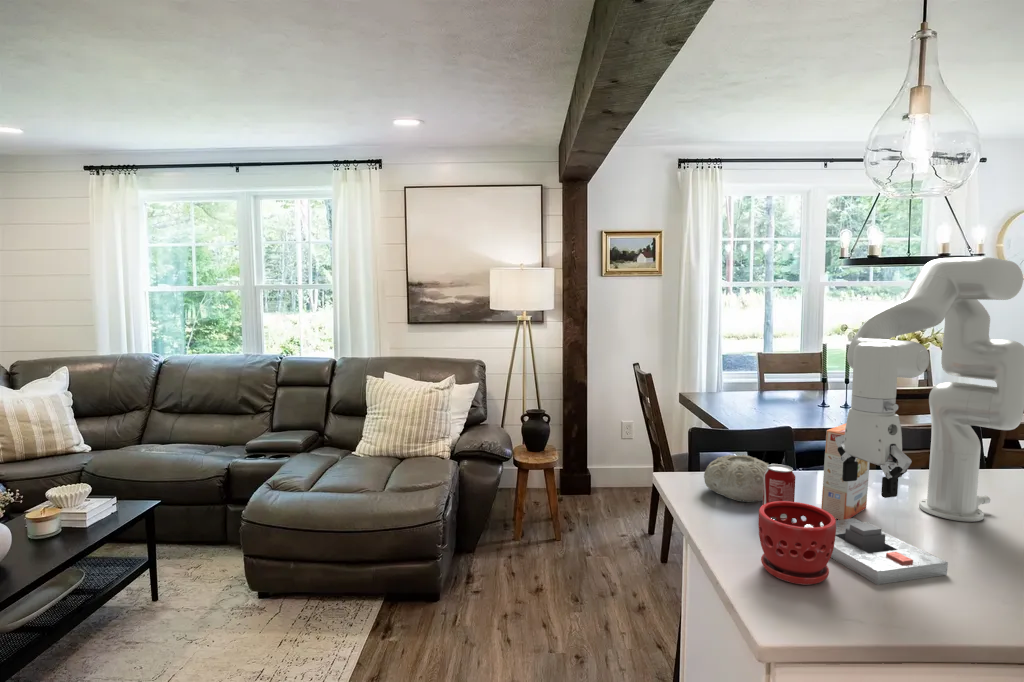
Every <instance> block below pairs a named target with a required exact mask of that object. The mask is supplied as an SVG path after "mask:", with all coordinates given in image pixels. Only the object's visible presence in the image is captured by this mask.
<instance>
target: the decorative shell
mask: <svg viewBox="0 0 1024 682" xmlns="http://www.w3.org/2000/svg"><path fill="white" fill-rule="evenodd" d="M768 465H769V462H765V461H763V460H761V459H758V458H757V457H753V456H750V455H745V454H742V455H738V454H737V455H733V454H728V455H723V456H720V457H719V456H717V457H716V459H714V460H712V461H710V462H709V464H708V465H707V466H706V469H705V470H704V473H703V478H704V479H703V480H704V484H705V485H706V488H708V489H709V490H711V491H712V492H714V493H716V494H718V495H722V496H724V497H725V498H727V499H730V500H731V499H732V500H733V501H738V502H745V503H746V502H749V503H752V502H760V501H763V484H764V472H765V471H766V470H767V466H768Z"/></svg>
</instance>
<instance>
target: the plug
mask: <svg viewBox="0 0 1024 682" xmlns="http://www.w3.org/2000/svg"><path fill="white" fill-rule="evenodd" d="M881 531H883V530H882V528H881V527H878V526H876V525H874V524H873V523H870V522H863V523H858V524H850V528H846V532H845V541H846V542H848V543H850V544H852V545H854V546H856V547H858V548H860V549H861V550H863V551H865V552H867V553H876V552H884V549H885V534H883V533H881Z"/></svg>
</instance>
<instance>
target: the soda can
mask: <svg viewBox="0 0 1024 682" xmlns="http://www.w3.org/2000/svg"><path fill="white" fill-rule="evenodd" d="M793 470H794V469H793V467H791V466H789V465H785V464H778V463H771V464H768V466H767V470H766V471H765V472H764V484H763V500H762V505H764V504H766V503H769V502H776V501H790V502H795V499H796V498H795V494H796V475H795V473H794V472H793ZM770 518H772V519H776V518H775V517H774V516H772V517H770ZM780 518H781V519H782V520H785V519H786V518H787V515H786V514H781V516H780Z"/></svg>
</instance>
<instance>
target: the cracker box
mask: <svg viewBox="0 0 1024 682" xmlns="http://www.w3.org/2000/svg"><path fill="white" fill-rule="evenodd" d="M845 428H846V422H845V423H843V424H841V425H838V426H834V427H832V428H829V429H827V430H826V433H825V434H826V435H825V446H824V447H825V449H824V450H825V451H824V464H823V475H822V477H823V478H822V490H821V492H822V493H821V507H820V508H821V509H823V510H825V511H827V512H829V513H830V514H831V515H833V517H834V518H835V520H837V519H838V520H843V519H852V518H854V516H856V515H858V514H859V513H861V512H862V511H864V510H866V509H867V501H868V489H869V477H870V476H869V475H870V464H871V463H870V462H867V461H864V460H861V459H858V458H857V459H856V460H855V461H857V462H858V474H857V480H856V481H847V482H845V481H843V480H842V475H843V462H842V461H841V455H840V454H839V452H838V447H837V444H836V441H835V438H836V437H839V436H842V435H845Z"/></svg>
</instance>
